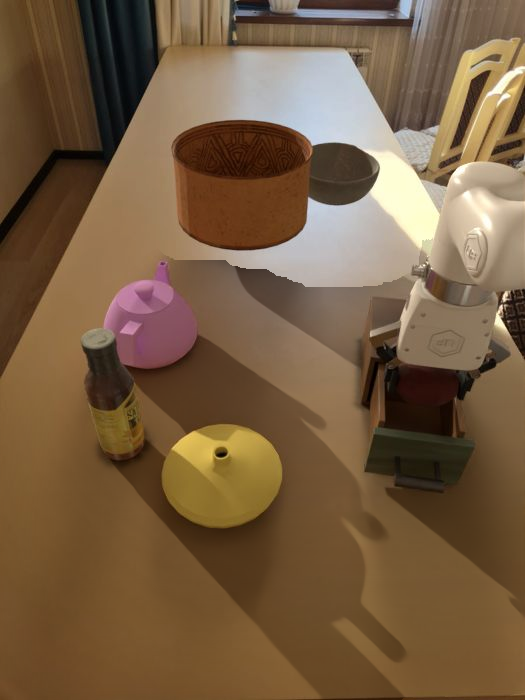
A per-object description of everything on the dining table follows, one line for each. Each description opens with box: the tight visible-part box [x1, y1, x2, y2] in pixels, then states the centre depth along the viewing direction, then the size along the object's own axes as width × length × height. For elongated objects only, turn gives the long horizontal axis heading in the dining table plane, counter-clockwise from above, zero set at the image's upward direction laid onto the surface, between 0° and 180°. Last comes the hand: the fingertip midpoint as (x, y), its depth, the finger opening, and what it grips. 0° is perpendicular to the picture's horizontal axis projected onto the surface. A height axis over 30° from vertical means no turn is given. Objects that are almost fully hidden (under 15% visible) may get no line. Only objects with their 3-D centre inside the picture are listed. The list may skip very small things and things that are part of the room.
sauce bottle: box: [80, 327, 146, 461], centre depth 70 cm, size 6×6×20 cm
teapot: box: [103, 260, 199, 370], centre depth 89 cm, size 22×16×12 cm
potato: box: [396, 362, 460, 407], centre depth 70 cm, size 7×8×6 cm
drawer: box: [363, 362, 476, 494], centre depth 73 cm, size 18×12×8 cm
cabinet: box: [360, 295, 460, 406], centre depth 85 cm, size 15×14×10 cm
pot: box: [170, 119, 313, 252], centre depth 113 cm, size 28×28×20 cm
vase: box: [161, 423, 283, 529], centre depth 70 cm, size 16×16×7 cm
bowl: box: [308, 141, 381, 207], centre depth 129 cm, size 20×20×10 cm
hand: (424, 388), depth 71 cm, fingers closed on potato, 8 cm apart
